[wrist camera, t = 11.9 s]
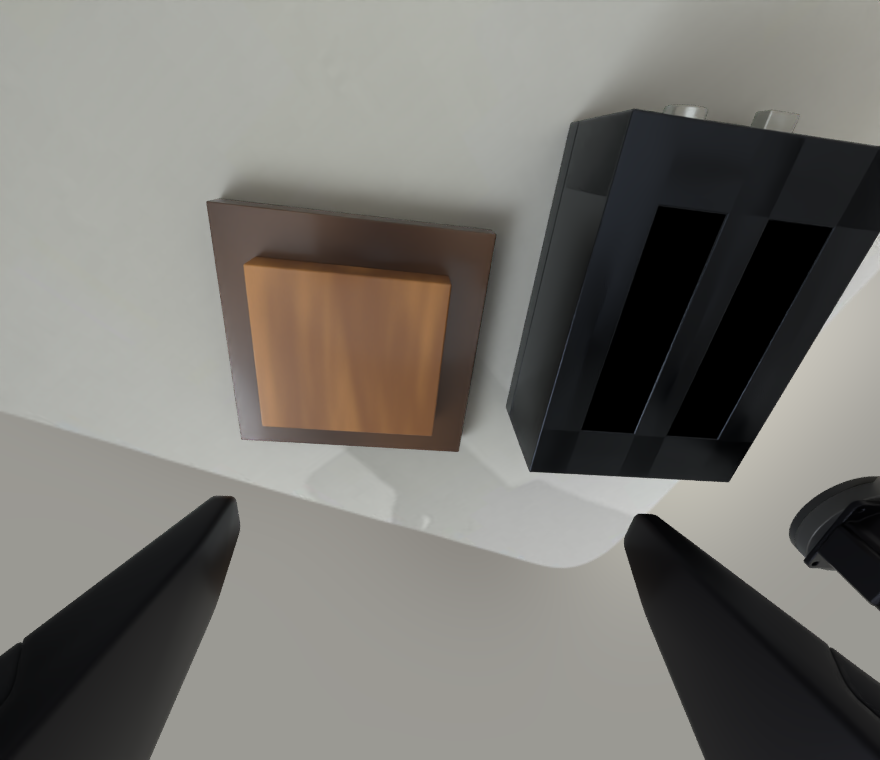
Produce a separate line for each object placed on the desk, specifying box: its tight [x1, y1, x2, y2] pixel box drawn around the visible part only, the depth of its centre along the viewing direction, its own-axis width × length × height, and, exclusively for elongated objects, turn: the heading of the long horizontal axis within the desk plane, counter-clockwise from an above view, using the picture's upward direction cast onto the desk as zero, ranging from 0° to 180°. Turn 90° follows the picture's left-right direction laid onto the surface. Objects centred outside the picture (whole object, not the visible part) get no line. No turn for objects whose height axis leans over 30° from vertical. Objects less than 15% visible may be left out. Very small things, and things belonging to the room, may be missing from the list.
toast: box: [243, 257, 452, 436], centre depth 19 cm, size 1×8×8 cm
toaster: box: [506, 104, 880, 482], centre depth 18 cm, size 10×15×6 cm, turn 173°
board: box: [206, 199, 496, 452], centre depth 20 cm, size 12×12×1 cm
